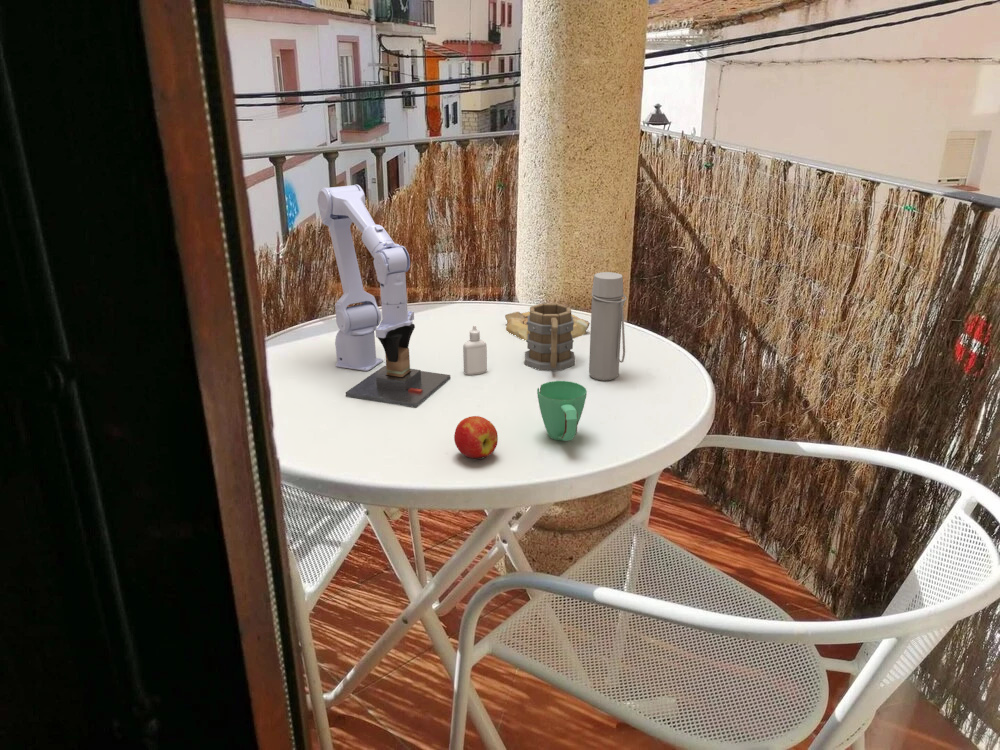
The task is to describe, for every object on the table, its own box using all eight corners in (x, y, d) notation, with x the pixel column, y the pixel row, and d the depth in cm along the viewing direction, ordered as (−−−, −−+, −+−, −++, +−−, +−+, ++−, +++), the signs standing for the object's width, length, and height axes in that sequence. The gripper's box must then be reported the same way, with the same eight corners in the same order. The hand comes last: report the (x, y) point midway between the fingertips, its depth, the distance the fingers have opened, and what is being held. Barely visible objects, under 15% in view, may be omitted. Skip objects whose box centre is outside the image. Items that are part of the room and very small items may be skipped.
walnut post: (386, 374, 176) (385, 351, 174) (395, 369, 180) (393, 346, 178) (402, 377, 175) (400, 353, 173) (410, 371, 178) (408, 348, 176)
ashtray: (592, 344, 207) (592, 326, 205) (504, 344, 207) (504, 326, 206) (584, 317, 229) (584, 301, 227) (505, 317, 229) (505, 301, 228)
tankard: (524, 352, 200) (524, 297, 194) (572, 353, 200) (574, 297, 194) (524, 382, 181) (524, 321, 176) (577, 382, 181) (579, 322, 175)
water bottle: (581, 377, 184) (585, 276, 175) (600, 368, 189) (605, 269, 180) (613, 386, 178) (618, 282, 169) (631, 377, 183) (638, 276, 174)
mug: (532, 426, 159) (532, 382, 155) (578, 423, 160) (579, 379, 156) (546, 459, 145) (547, 411, 141) (596, 455, 147) (598, 408, 143)
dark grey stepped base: (345, 396, 174) (344, 382, 173) (384, 369, 190) (383, 356, 188) (416, 407, 168) (415, 393, 167) (450, 378, 183) (449, 365, 182)
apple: (470, 470, 142) (469, 431, 139) (446, 453, 148) (445, 416, 145) (505, 458, 146) (504, 420, 143) (480, 442, 152) (479, 405, 149)
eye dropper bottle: (485, 376, 185) (484, 329, 181) (462, 375, 186) (461, 328, 181) (487, 369, 189) (487, 323, 185) (465, 368, 190) (464, 322, 185)
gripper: (394, 312, 163) (397, 370, 168) (424, 294, 176) (427, 349, 181) (365, 308, 166) (370, 366, 171) (397, 291, 178) (400, 346, 183)
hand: (397, 357), depth 176 cm, fingers closed on walnut post, 4 cm apart
